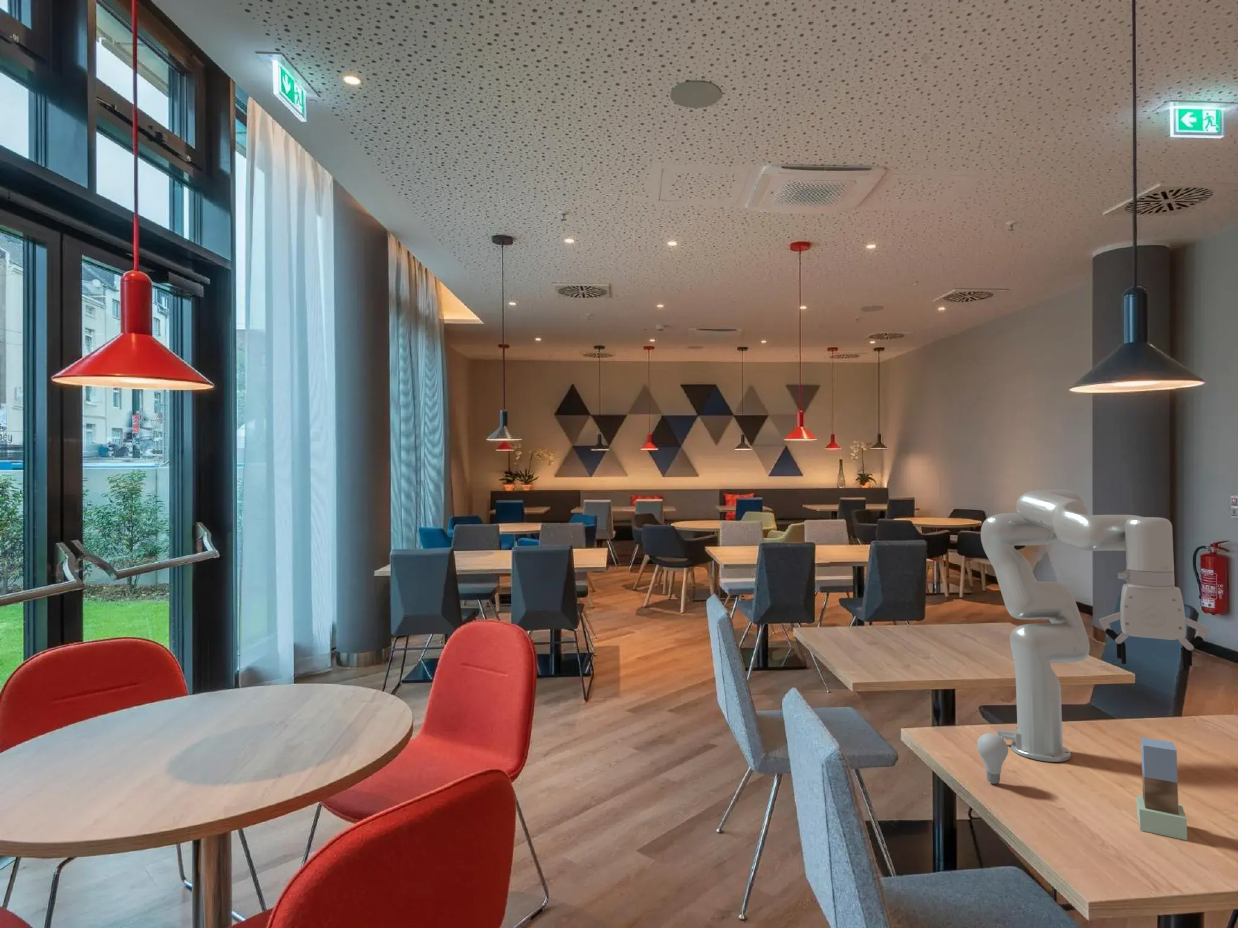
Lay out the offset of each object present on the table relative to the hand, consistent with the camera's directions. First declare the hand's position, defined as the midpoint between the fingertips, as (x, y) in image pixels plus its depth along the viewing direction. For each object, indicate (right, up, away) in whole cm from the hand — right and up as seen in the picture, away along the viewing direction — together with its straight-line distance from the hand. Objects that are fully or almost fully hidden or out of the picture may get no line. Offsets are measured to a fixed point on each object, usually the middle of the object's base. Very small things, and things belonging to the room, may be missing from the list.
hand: (1153, 665), depth 136 cm
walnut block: (-1, -26, -3) cm, 26 cm away
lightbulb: (-23, -31, +17) cm, 42 cm away
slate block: (-1, -20, -3) cm, 21 cm away
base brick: (-1, -30, -4) cm, 30 cm away
